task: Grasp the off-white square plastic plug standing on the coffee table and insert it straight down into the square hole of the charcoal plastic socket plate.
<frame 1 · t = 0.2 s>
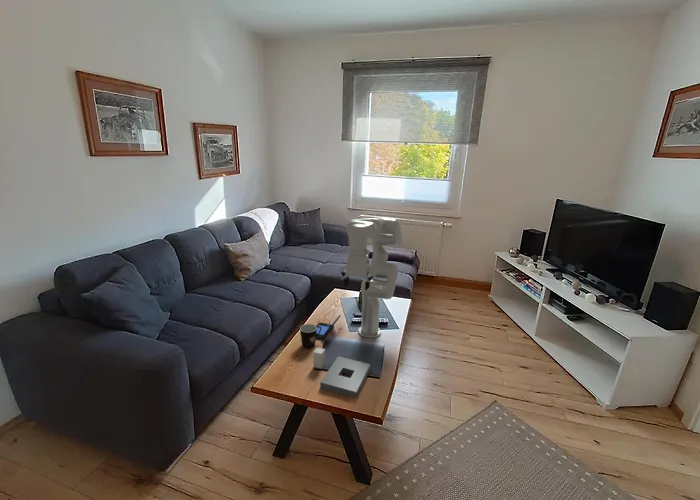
hand: (356, 287, 153), 36 cm above the table, tool pointing down, fingers open, 9 cm apart
handheld game console: (324, 333, 184), on the table
coffee mug: (311, 345, 172), on the table
socket plate: (346, 378, 147), on the table
plug: (319, 365, 156), on the table
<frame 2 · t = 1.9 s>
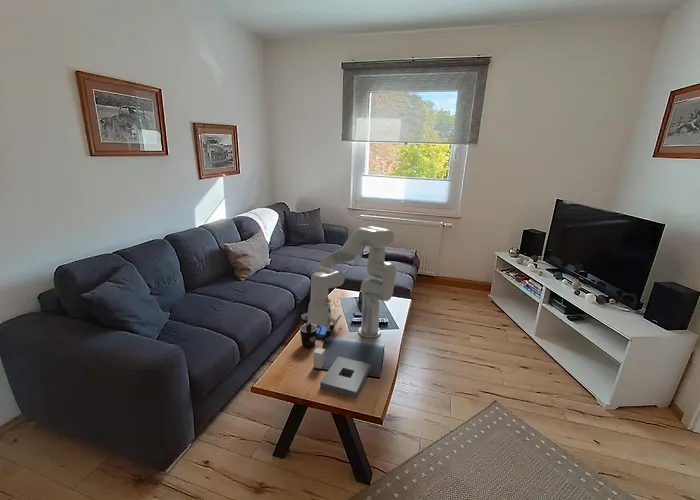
hand: (318, 335, 151), 16 cm above the table, tool pointing down, fingers open, 9 cm apart
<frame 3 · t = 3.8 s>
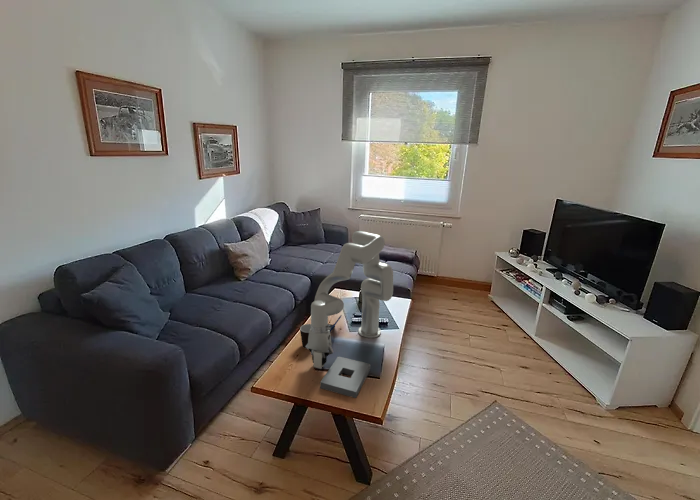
hand: (319, 362, 155), 2 cm above the table, tool pointing down, fingers closed on plug, 3 cm apart
plug: (319, 365, 156), on the table, touching gripper
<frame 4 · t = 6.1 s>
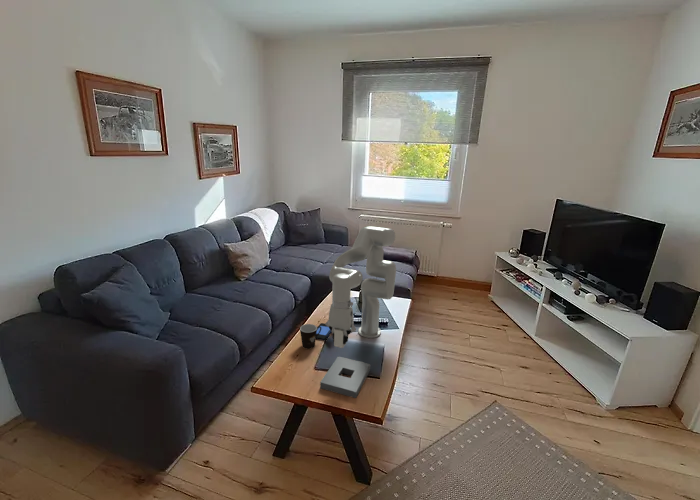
hand: (340, 341, 144), 17 cm above the table, tool pointing down, fingers closed on plug, 4 cm apart
plug: (340, 344, 145), point 16 cm above the table, touching gripper
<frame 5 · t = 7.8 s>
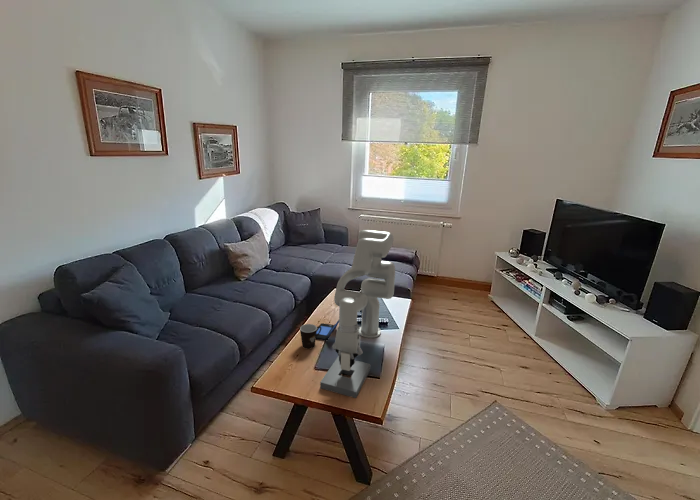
hand: (346, 363, 145), 8 cm above the table, tool pointing down, fingers closed on plug, 4 cm apart
plug: (346, 367, 145), point 6 cm above the table, touching gripper
when the fingers open (4 cm above the table, at t = 8.8 s): plug drops 2 cm, resting in socket plate.
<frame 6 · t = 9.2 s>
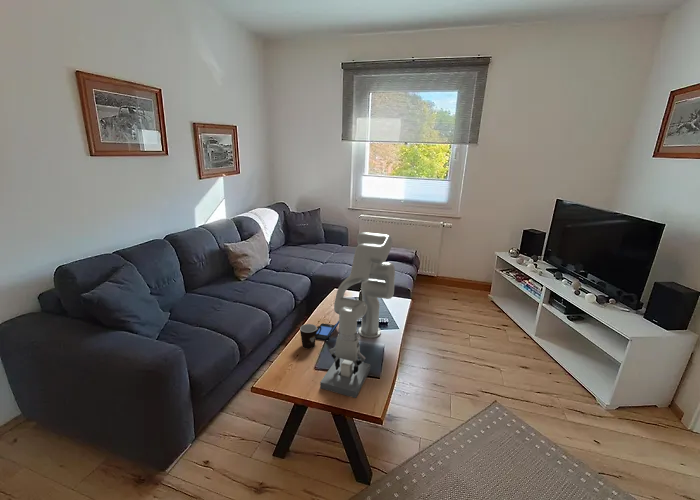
hand: (346, 370, 146), 4 cm above the table, tool pointing down, fingers open, 7 cm apart
plug: (346, 378, 147), resting in socket plate
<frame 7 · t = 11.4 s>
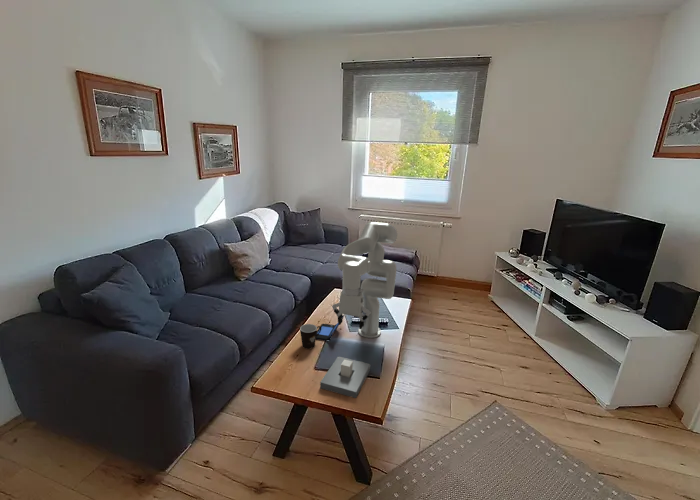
hand: (350, 325, 146), 23 cm above the table, tool pointing down, fingers open, 9 cm apart
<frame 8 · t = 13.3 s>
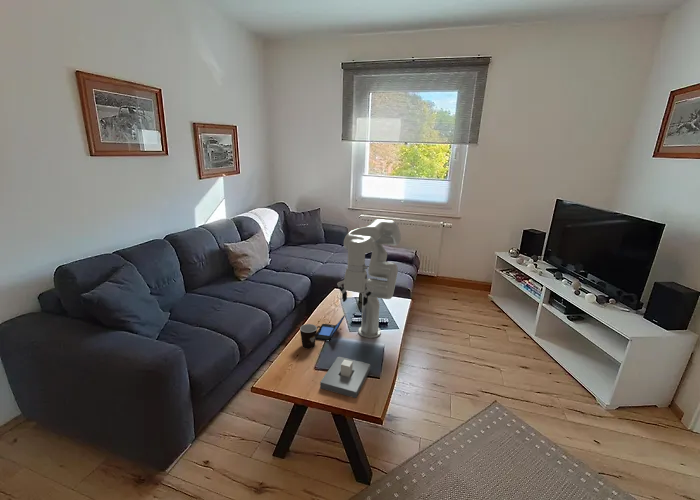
hand: (354, 302, 152), 30 cm above the table, tool pointing down, fingers open, 9 cm apart
at the end: plug 0.1 cm off-centre on the socket plate, point 0.0 cm above the socket plate's base; plug tilted 0°; the gripper is holding nothing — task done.
